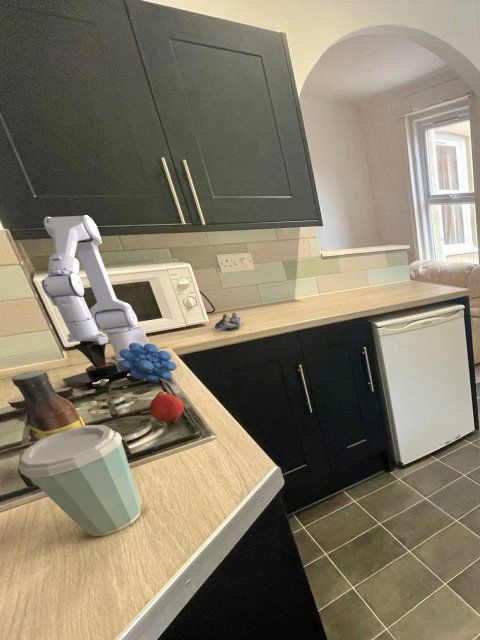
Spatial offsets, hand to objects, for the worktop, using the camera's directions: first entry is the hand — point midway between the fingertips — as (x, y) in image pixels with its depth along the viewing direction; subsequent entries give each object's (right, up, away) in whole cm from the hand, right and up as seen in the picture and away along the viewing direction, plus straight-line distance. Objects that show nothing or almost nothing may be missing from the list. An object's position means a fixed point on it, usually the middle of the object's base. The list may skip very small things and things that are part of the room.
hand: (100, 365), depth 121 cm
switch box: (0, -4, +2) cm, 4 cm away
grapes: (+19, -5, -3) cm, 20 cm away
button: (0, -2, +1) cm, 2 cm away
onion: (+42, -14, -26) cm, 51 cm away
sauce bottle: (+39, -22, -42) cm, 61 cm away
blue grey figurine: (+5, +18, +49) cm, 53 cm away
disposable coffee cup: (+57, -27, -56) cm, 85 cm away
